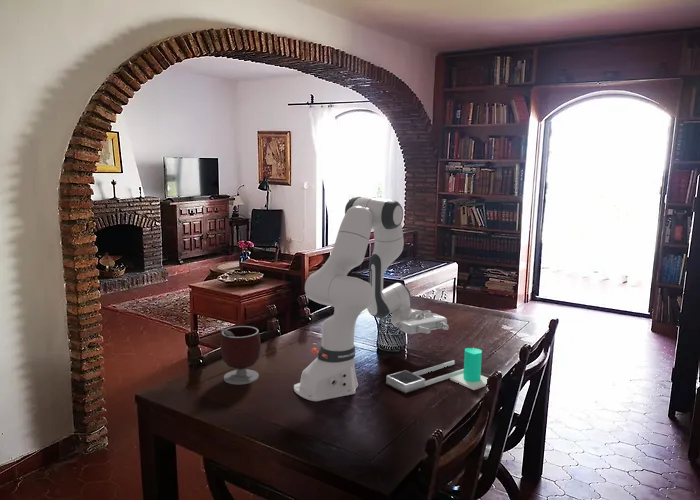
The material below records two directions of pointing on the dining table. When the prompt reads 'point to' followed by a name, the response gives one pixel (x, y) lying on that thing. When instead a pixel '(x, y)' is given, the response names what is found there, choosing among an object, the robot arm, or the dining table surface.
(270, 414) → the dining table surface
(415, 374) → the guide channel
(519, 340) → the dining table surface
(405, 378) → the shallow square tray
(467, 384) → the ceramic tile
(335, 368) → the robot arm
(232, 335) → the mate gourd
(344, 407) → the dining table surface
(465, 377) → the candle
